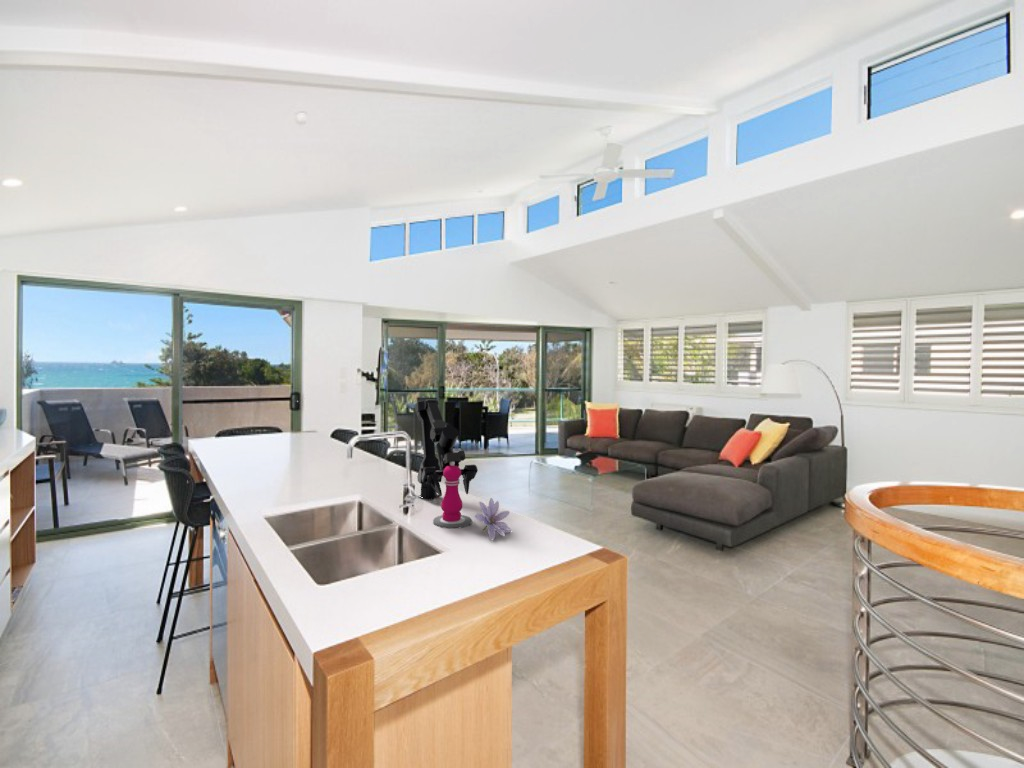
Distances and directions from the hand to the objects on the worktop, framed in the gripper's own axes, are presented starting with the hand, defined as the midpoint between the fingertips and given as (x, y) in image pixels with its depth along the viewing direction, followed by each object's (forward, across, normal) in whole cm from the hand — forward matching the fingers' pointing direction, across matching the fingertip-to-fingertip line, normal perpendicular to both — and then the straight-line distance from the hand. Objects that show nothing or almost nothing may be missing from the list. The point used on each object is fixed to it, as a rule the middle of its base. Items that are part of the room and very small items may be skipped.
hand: (454, 494), depth 167 cm
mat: (+6, 0, +8) cm, 10 cm away
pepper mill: (+5, 0, +8) cm, 9 cm away
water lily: (+18, +9, -4) cm, 20 cm away
